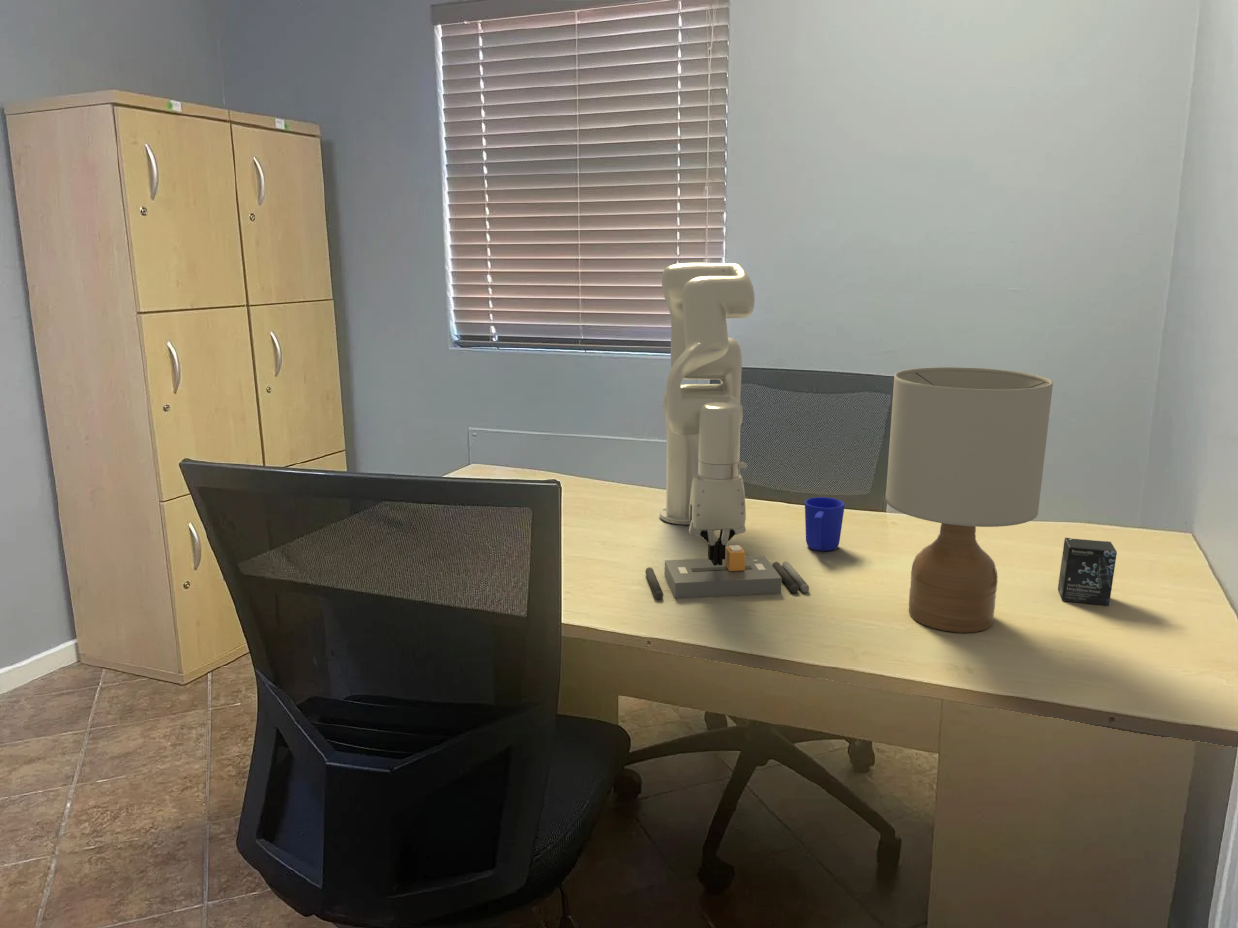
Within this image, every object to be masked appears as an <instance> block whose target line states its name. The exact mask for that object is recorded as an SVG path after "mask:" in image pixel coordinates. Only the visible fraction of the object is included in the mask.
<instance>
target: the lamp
mask: <svg viewBox="0 0 1238 928" xmlns="http://www.w3.org/2000/svg"><path fill="white" fill-rule="evenodd" d="M893 378H894V379H893V388H892V389H893V390H892V391H893V392H892V403H891V405H892V406H891V416H890V417H891V420H890V431H889V433H890V434H889V435H890V436H889V446H888V447H889V448H888V463H887V476H886V487H885V488H886V489H885V490H886V491H885V503H886V504H887V505H888V506H889V507H891V508H892V509H893V510H895V511H897V512H899V513H901V514H905V515H907V516H910V517H913V518H917V519H919V520H923V521H924V520H925V521H927V522H932V523H933V522H934V523H938V524H940V526H939V527H940V528H939V534H938V536H937V538H935V540H934V541H933V542H932V543H929V544H928V545H927V546H925V547H923V548H922V550H920V551H919V552H918V553H916V554H915V556H914V559H913V562H912V564H911V571H910V588H909V594H908V595H909V596H908V597H909V598H908V613H909V615H910V616H911V618H912V619H913V620H915V621H916V622H917V623H919V624H920V625H923V626H926V627H929V628H931V629H935V630H938V631H944V632H951V633H959V634H960V633H965V634H967V633H968V634H969V633H970V634H971V633H977V632H982V631H985V630H988V629H990V628H991V627H992V626H993V623H994V621H995V620H994V615H995V608H996V607H995V606H996V596H997V590H998V589H997V588H998V582H999V581H998V577H999V576H998V570H997V568H996V564H995V561H994V559H992V557H991V556H990V555H989V554H988V553H987V552H986V551H985V550H984V549H983V548H982V547H981V546H980V544H979V543H978V540H977V535H976V531H977V528H979V527H980V528H995V527H996V528H998V527H1009V526H1017V525H1021V524H1026V523H1029V522H1031V521H1033V520H1034V519H1036V517H1038V515H1039V510H1040V509H1039V507H1040V499H1041V490H1042V482H1043V475H1044V474H1043V472H1044V463H1045V456H1046V446H1047V438H1048V430H1049V429H1048V428H1049V423H1050V422H1049V421H1050V413H1051V412H1050V411H1051V405H1052V404H1051V403H1052V394H1053V386H1054V381H1053V380H1052V379H1050V378H1048V377H1046V376H1041V375H1037V374H1035V373H1028V372H1022V371H1015V370H1009V369H1008V370H1007V369H996V368H995V369H994V368H984V367H983V368H981V367H978V368H977V367H962V366H961V367H959V366H957V367H956V366H954V367H953V366H949V367H947V366H946V367H945V366H944V367H943V366H942V367H939V366H938V367H936V366H935V367H933V366H932V367H921V368H920V367H918V368H910V369H903V370H900V371H897V372H895V373H894V377H893ZM976 527H977V528H976Z"/></svg>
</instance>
